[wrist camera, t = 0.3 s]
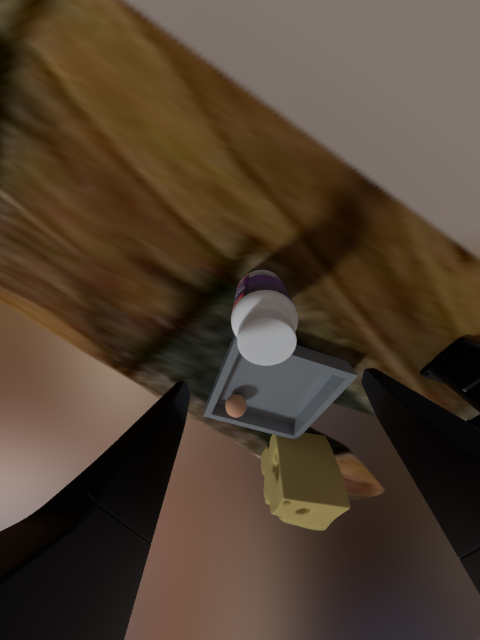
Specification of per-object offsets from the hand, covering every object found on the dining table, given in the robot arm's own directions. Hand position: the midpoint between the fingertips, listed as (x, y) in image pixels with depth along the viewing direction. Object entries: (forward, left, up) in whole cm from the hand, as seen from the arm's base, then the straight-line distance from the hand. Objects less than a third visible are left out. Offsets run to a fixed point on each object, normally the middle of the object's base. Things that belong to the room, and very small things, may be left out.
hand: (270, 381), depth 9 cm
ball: (-3, +17, -12) cm, 21 cm away
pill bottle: (0, 0, -13) cm, 13 cm away
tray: (-7, +13, -13) cm, 20 cm away
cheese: (-18, +27, -13) cm, 35 cm away
